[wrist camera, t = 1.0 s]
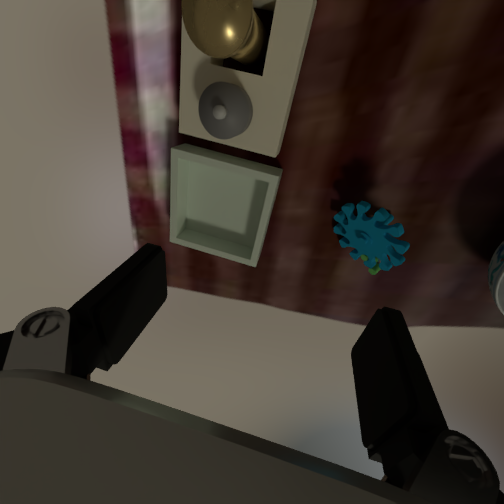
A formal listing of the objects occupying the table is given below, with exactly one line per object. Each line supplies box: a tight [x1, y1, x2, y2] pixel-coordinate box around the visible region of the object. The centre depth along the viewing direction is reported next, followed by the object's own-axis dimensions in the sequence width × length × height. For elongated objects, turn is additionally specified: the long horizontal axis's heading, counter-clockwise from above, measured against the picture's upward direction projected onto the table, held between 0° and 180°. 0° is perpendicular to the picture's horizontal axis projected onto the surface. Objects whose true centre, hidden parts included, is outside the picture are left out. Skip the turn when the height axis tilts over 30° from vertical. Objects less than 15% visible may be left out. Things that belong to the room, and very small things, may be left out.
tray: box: [170, 143, 283, 267], centre depth 35 cm, size 14×14×4 cm
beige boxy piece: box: [179, 0, 317, 157], centre depth 25 cm, size 14×12×8 cm
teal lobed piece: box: [334, 201, 410, 275], centre depth 32 cm, size 11×6×10 cm
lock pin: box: [182, 0, 268, 66], centre depth 22 cm, size 5×5×11 cm
